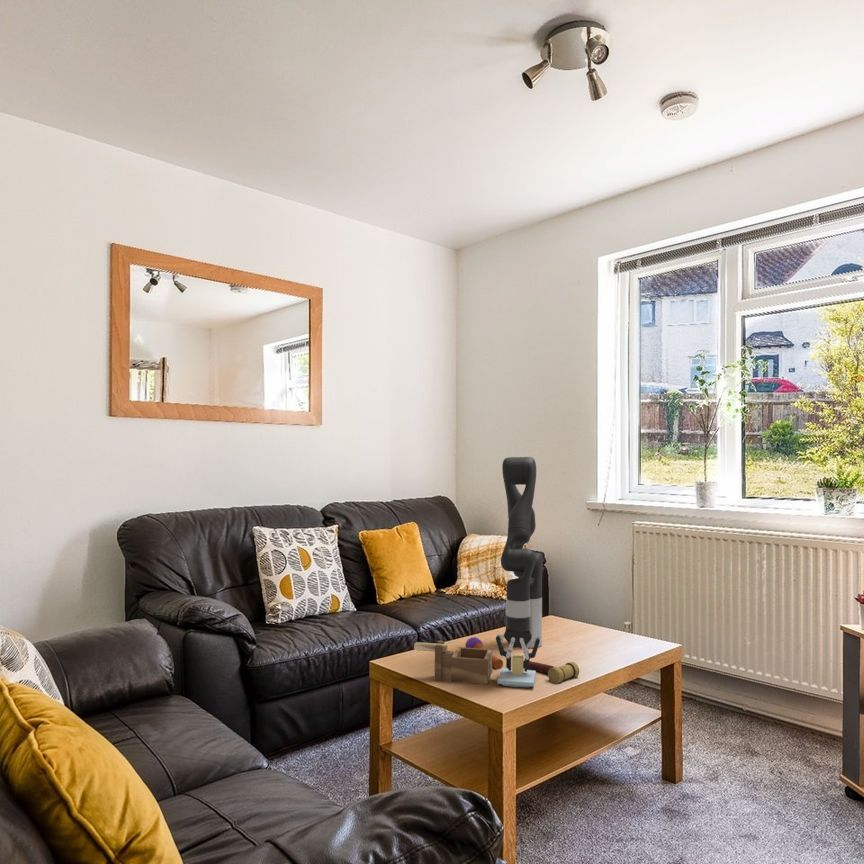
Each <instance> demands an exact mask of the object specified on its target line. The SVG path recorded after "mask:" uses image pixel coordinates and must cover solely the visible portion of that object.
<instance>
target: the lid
mask: <svg viewBox="0 0 864 864" xmlns="http://www.w3.org/2000/svg"><path fill="white" fill-rule="evenodd" d="M524 660H525V656H524V654H514V653H513V654H512V656H511V671H508V668H505V667H502V668H500V673H499V675H498V678H497V684H499V685H502V686H504V687H514V688H515V687H516V688H527V689H529V688H530V687H535V681H536V676H537V671H535V670H531V669H529V670H527V672H525V669H524V667H523V661H524Z"/></svg>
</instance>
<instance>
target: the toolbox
mask: <svg viewBox="0 0 864 864" xmlns="http://www.w3.org/2000/svg"><path fill="white" fill-rule="evenodd" d="M439 644H445V641H444V640H437V643H436V644H435V652H434V681H435V682H436V681H437V682H442V681H451V682H456V683H457V682H458V683H466V684H467V683H470V684H481V685H482V684H483V685H488V683H489V682H490V678H491V676H492V673H493V665H492V656H493V649H492V648H484V649H480V648H466V647H463V646H457V648H456V649H455V651H454V650H447V652H442V645H439Z"/></svg>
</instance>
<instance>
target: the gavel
mask: <svg viewBox="0 0 864 864" xmlns="http://www.w3.org/2000/svg"><path fill="white" fill-rule="evenodd" d="M523 669H525V659H524V661H523ZM529 670H533V671H536V672H539V673H543V674H544V673H545V674H547V677H548V679H549V681H550V682H552V683H555V684H559V683H561V682H563V681H565V680H569V679H570V678H573V679H575V678H576V677H578V676H579V674H580V667H579V665H578V664H577V663H576V662H574V661H569V662H567V663H565V664H564V665H561V666H554V665H550V664H546V663H541V662H535V661H532V660H530V665H529Z"/></svg>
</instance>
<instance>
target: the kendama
mask: <svg viewBox="0 0 864 864" xmlns="http://www.w3.org/2000/svg"><path fill="white" fill-rule="evenodd" d="M465 648H480V649H485V647H484V644H483V641H482V640H481V639H480V638H479V637H475V636H473V637H470V638H468V639H467V640H466V643H465ZM503 666H504V661H503V660H502V658H499V657H496V656H494V655H492V667H494V668H495V669H496V670H499V669H500V670H501V669H502V668H503Z"/></svg>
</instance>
